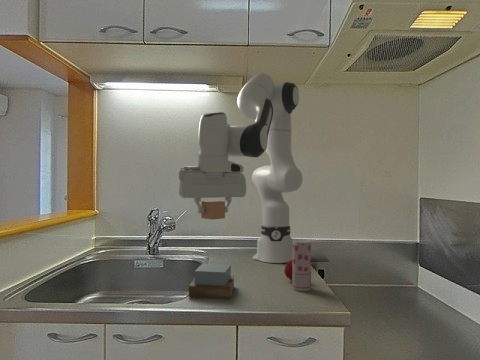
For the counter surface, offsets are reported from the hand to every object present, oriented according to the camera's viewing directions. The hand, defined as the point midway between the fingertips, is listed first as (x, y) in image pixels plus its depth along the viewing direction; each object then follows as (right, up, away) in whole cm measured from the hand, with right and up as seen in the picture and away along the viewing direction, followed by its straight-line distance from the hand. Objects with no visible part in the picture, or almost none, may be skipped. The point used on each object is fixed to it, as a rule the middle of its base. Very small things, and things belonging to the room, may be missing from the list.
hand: (213, 212), depth 117 cm
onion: (+26, -24, +13) cm, 38 cm away
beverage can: (+27, -24, +5) cm, 37 cm away
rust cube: (0, -2, 0) cm, 2 cm away
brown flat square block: (0, -25, +1) cm, 25 cm away
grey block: (0, -21, 0) cm, 21 cm away
